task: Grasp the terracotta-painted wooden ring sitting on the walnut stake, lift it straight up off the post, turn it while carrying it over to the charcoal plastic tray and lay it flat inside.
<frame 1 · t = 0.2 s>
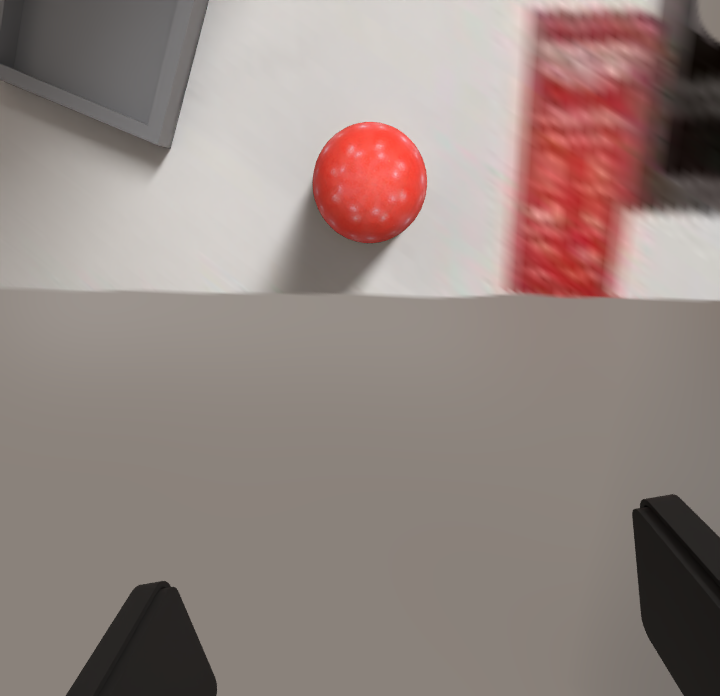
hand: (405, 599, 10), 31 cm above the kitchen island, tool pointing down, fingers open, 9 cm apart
tray: (106, 20, 34), on the kitchen island
stacking toy: (369, 187, 37), on the kitchen island
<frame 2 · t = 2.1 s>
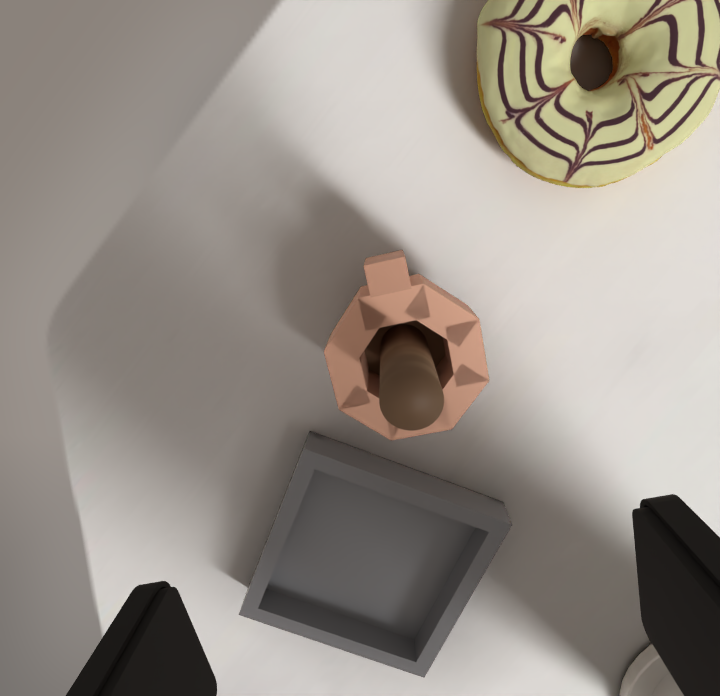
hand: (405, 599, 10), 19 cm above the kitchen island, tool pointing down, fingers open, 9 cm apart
stake: (401, 331, 27), on the kitchen island
ring: (403, 347, 24), point 3 cm above the kitchen island, touching stake
decorated donut: (576, 72, 24), on the kitchen island
tray: (369, 547, 32), on the kitchen island
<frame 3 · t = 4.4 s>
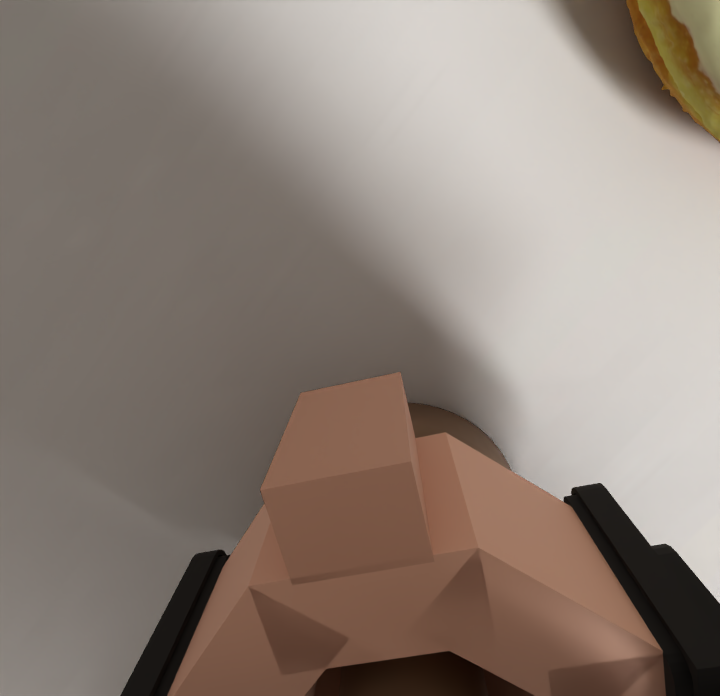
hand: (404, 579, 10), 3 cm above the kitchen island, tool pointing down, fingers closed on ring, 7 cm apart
stake: (400, 507, 13), on the kitchen island
ring: (406, 599, 10), point 3 cm above the kitchen island, touching gripper, stake
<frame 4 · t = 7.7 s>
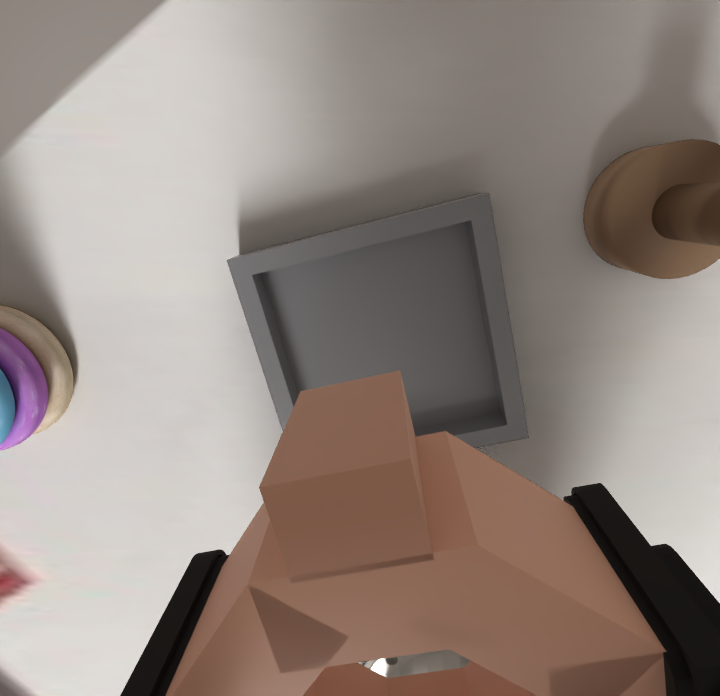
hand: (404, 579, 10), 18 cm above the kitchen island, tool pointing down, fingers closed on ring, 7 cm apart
stake: (644, 210, 24), on the kitchen island
ring: (406, 598, 10), point 18 cm above the kitchen island, touching gripper
tray: (384, 340, 27), on the kitchen island
stacking toy: (16, 365, 29), on the kitchen island
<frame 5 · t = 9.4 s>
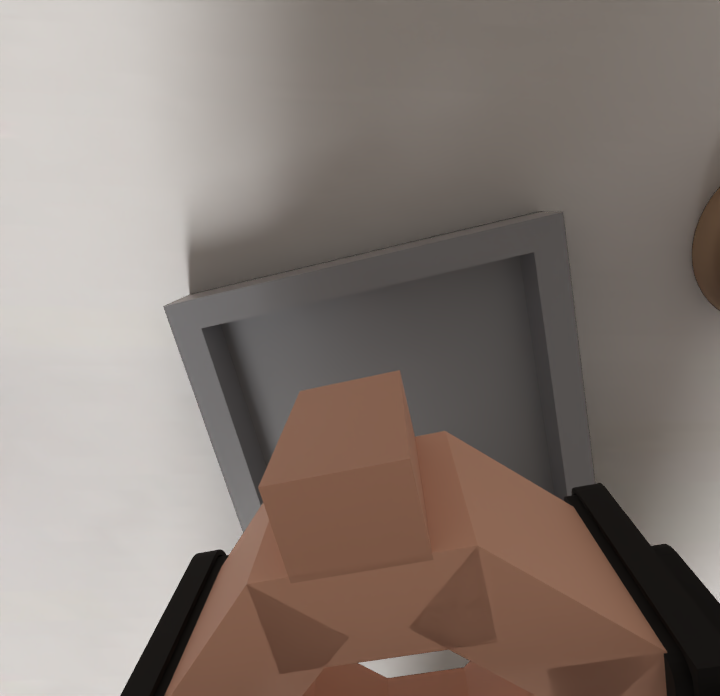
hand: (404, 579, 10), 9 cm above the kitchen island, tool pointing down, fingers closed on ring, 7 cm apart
ring: (405, 598, 10), point 10 cm above the kitchen island, touching gripper
tray: (395, 416, 19), on the kitchen island
when the fingers open (3 cm above the kitchen island, at t = 11.1 s): ring drops 3 cm, resting on tray.
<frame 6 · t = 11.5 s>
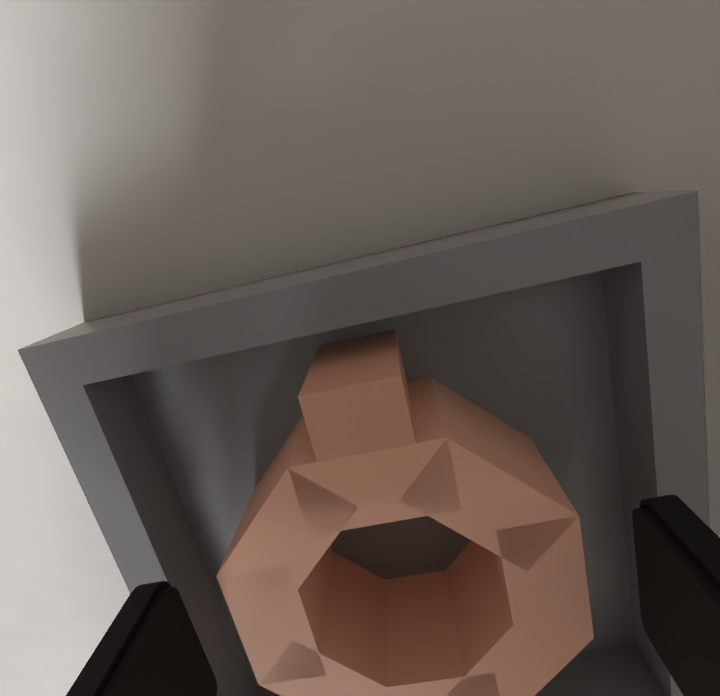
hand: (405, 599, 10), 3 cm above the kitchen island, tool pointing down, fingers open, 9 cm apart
ring: (399, 512, 12), resting on tray
tray: (399, 500, 13), on the kitchen island
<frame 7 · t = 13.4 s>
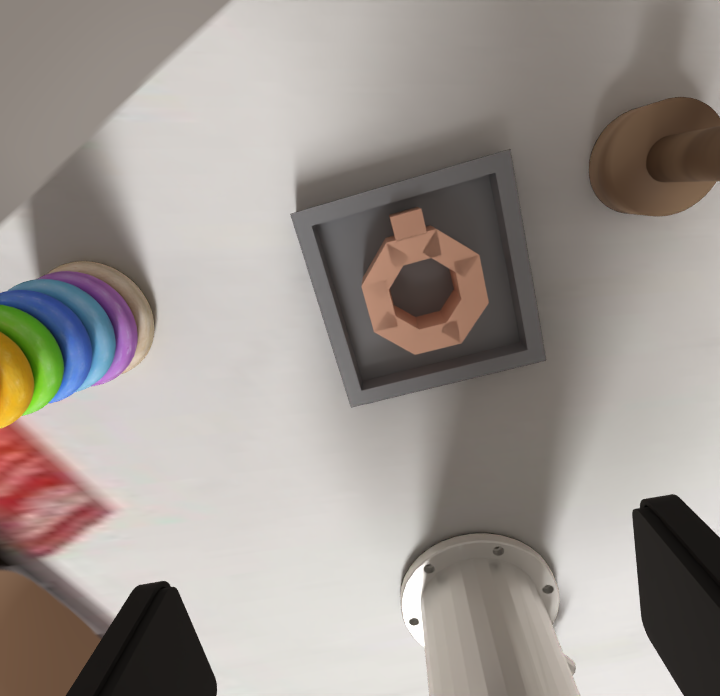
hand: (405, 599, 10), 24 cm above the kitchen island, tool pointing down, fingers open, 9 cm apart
stake: (640, 161, 29), on the kitchen island
ring: (420, 284, 31), resting on tray
tray: (420, 283, 31), on the kitchen island
stacking toy: (103, 316, 33), on the kitchen island
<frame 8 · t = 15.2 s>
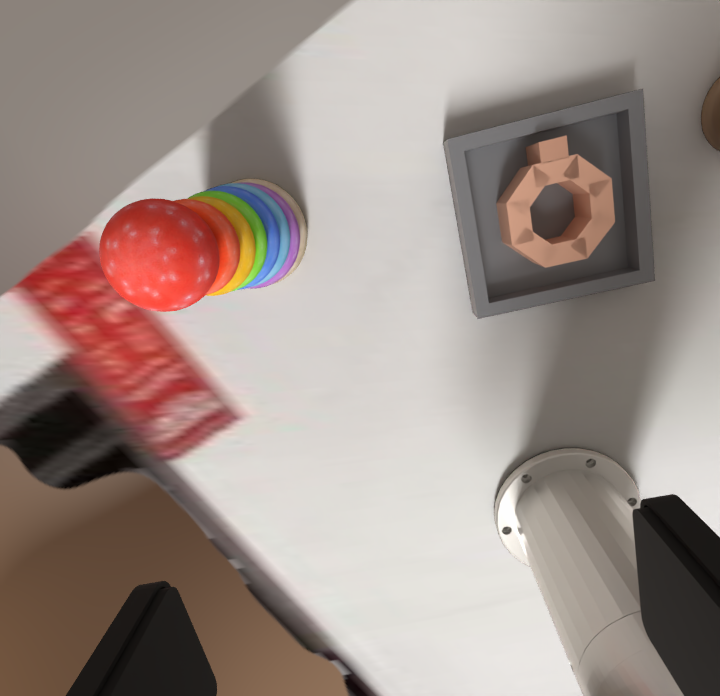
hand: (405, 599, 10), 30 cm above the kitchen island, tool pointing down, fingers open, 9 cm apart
ring: (546, 211, 36), resting on tray
tray: (544, 211, 36), on the kitchen island
stacking toy: (259, 232, 38), on the kitchen island
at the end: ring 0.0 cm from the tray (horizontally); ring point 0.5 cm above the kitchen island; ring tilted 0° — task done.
